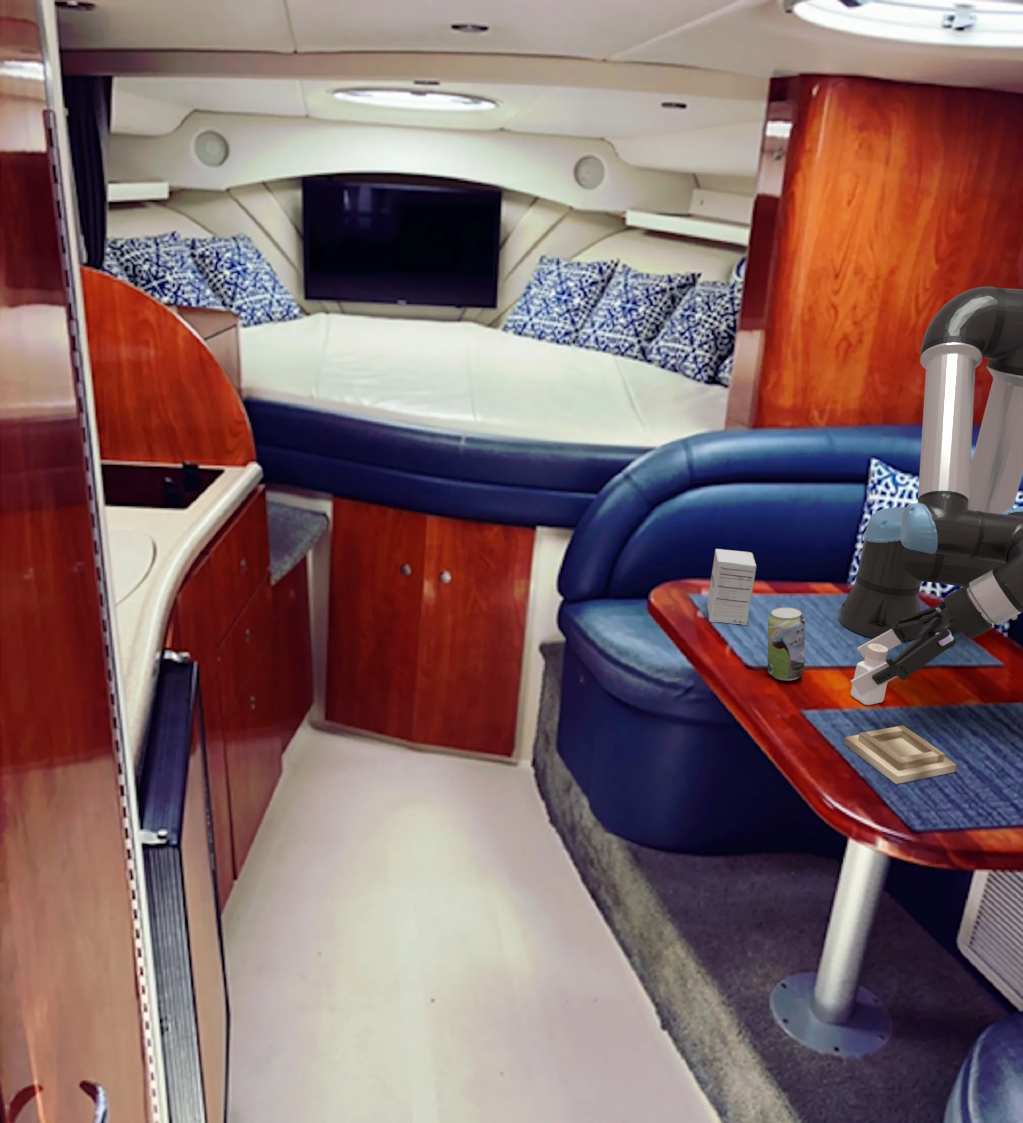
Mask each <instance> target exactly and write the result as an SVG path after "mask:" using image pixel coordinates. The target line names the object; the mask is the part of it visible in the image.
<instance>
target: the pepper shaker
mask: <svg viewBox="0 0 1023 1123" xmlns="http://www.w3.org/2000/svg"><path fill="white" fill-rule="evenodd" d="M888 652H889V650H888V648H886V647H885V646H883V645H880V644H869V645H868V646H867V651H866V655H865V659H864V660H862V661H859V662H858V663H857V664H856V666H855V672H854V675H853V679H854V678H856V677H858V676H860V675H862V674H864V673H866V672H867V671H869V670H871V669H873V668H875V667H877V666H879V665H881V664H882V663H884V662H886V659H887V657H888ZM887 685H888V682H887V683H885V684H883V685H881V686H879V687H877V688H875V689H873V690H871V691H869V692H867V693H865V694H864V695H862V696H861V695H860V693H859V692H858V691H857V690H856V688H855V687H854V686H853V684H851V691H850V696H851V697H852V698H854V699H855V700H857V701H858V702H860V703H861V704H863V705H865V706H870V705H877V704H879V703H883V701H884V700H885V695H886V690H887Z"/></svg>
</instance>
